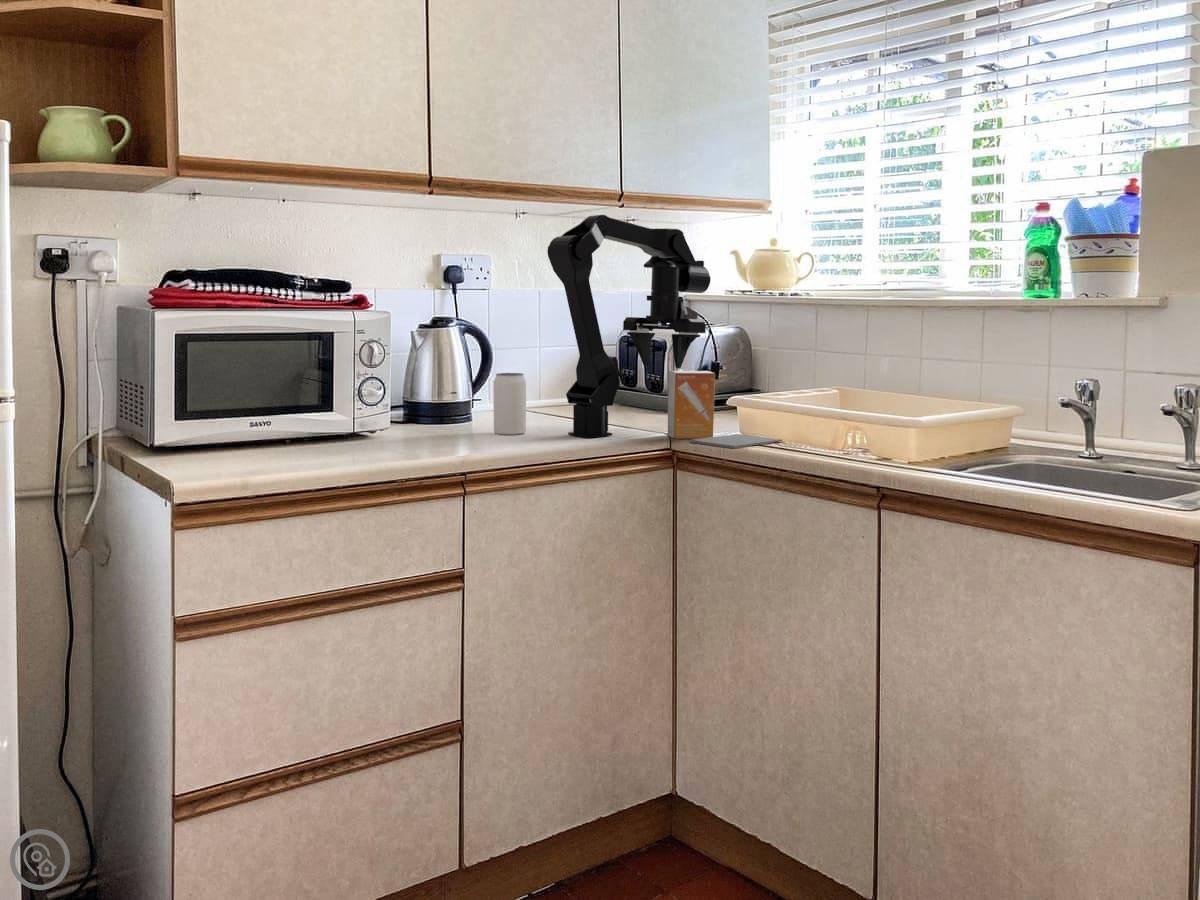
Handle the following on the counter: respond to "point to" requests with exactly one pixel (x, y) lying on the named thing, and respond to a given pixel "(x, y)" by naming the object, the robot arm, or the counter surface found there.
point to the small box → (691, 404)
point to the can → (509, 404)
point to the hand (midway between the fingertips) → (661, 367)
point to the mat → (735, 441)
